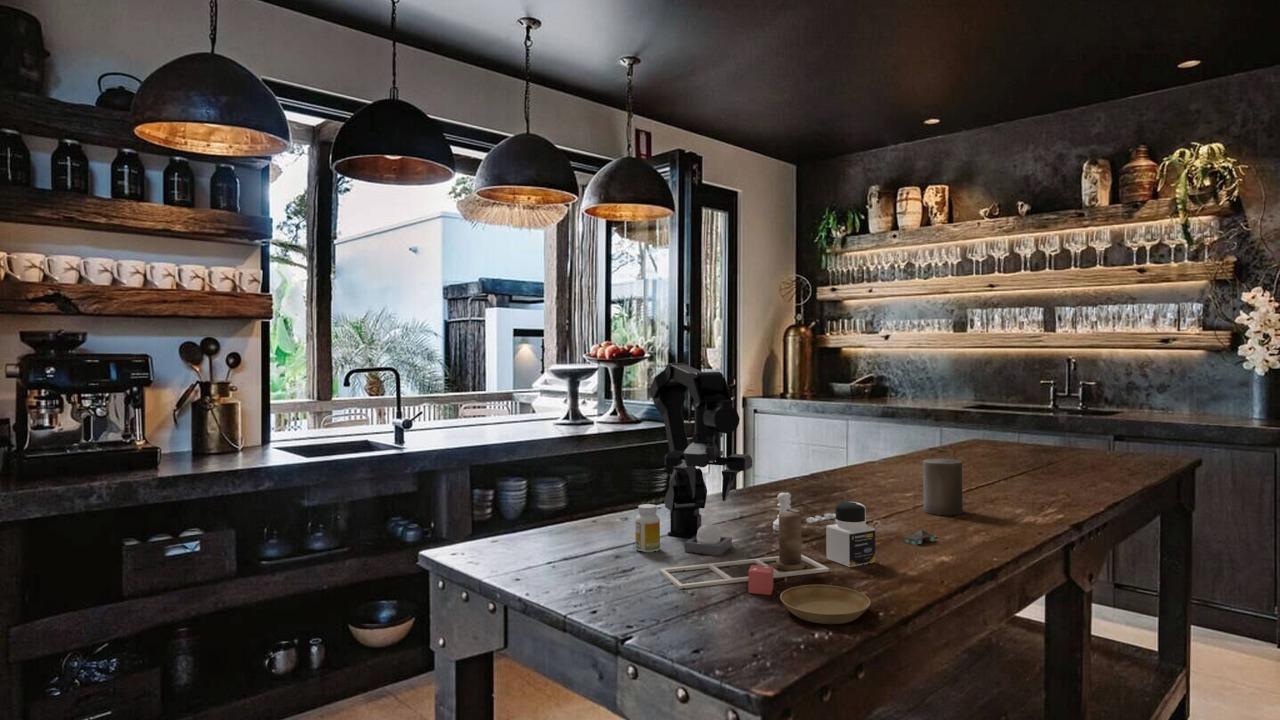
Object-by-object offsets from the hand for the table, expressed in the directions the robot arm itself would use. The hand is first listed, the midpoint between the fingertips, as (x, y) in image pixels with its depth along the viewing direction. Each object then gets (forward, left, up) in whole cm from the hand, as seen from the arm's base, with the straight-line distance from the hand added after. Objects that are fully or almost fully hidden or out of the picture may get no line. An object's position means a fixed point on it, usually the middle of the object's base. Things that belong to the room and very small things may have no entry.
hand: (708, 499), depth 165 cm
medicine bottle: (+30, +4, -11) cm, 32 cm away
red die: (+19, -22, -11) cm, 31 cm away
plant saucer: (+32, -28, -12) cm, 44 cm away
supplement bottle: (-12, -6, -11) cm, 17 cm away
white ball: (0, 0, -11) cm, 11 cm away
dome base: (0, 0, -11) cm, 11 cm away
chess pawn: (+10, +24, -11) cm, 28 cm away
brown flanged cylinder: (+20, -5, -11) cm, 23 cm away
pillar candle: (+43, +60, -11) cm, 75 cm away
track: (+12, -12, -11) cm, 21 cm away
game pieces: (+23, +36, -12) cm, 44 cm away
